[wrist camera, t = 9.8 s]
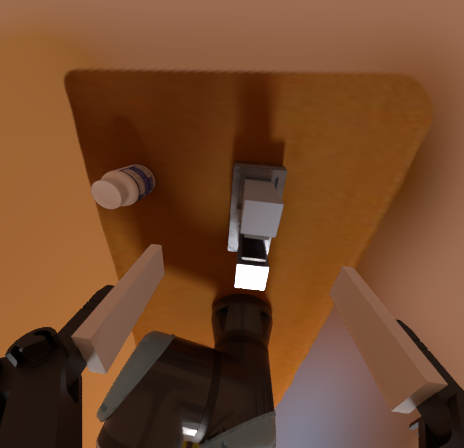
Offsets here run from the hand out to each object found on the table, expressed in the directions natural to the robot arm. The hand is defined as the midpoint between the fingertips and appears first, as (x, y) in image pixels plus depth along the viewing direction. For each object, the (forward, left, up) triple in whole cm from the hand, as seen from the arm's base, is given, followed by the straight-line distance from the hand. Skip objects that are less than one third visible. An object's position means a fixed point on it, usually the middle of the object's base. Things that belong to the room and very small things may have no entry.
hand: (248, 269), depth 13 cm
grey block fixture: (-3, -1, -20) cm, 20 cm away
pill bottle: (0, +19, -20) cm, 27 cm away
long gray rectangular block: (+1, -1, -17) cm, 17 cm away
